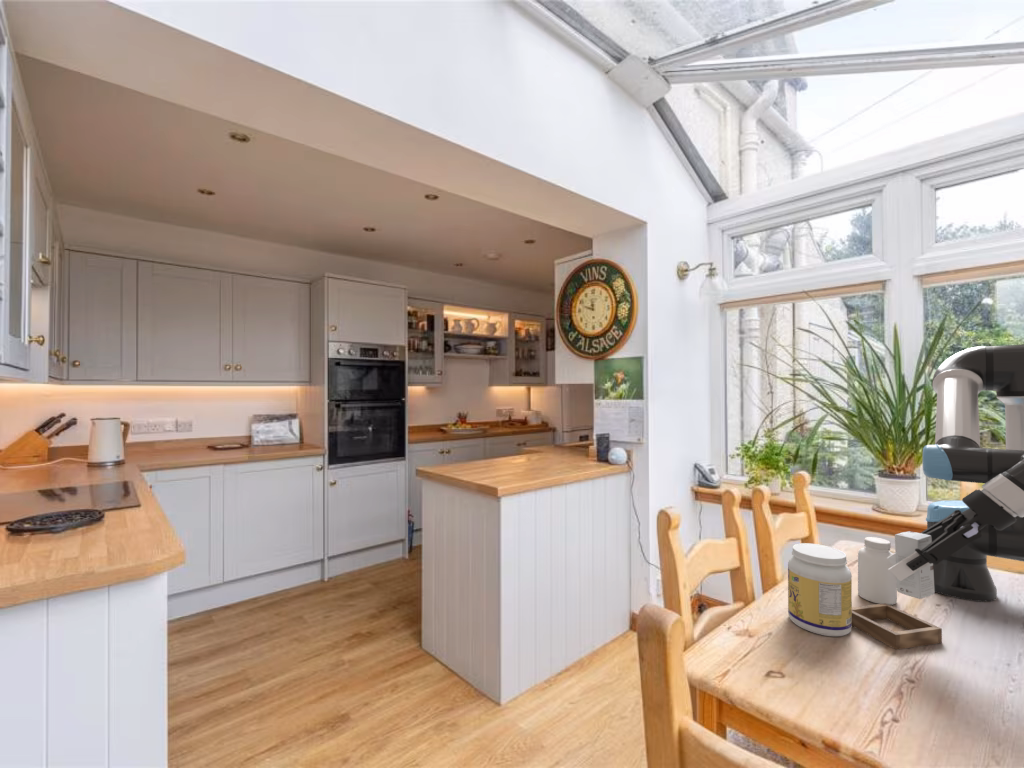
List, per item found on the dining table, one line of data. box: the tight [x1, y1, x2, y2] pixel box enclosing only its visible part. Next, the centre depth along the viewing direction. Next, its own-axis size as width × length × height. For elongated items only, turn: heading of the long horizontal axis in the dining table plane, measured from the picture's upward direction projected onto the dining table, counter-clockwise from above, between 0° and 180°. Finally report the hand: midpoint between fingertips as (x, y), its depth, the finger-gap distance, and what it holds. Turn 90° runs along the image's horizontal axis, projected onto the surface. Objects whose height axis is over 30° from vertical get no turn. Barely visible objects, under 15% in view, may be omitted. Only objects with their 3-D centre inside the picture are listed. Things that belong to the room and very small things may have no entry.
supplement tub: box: [787, 542, 853, 637], centre depth 108 cm, size 12×12×17 cm
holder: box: [852, 603, 943, 651], centre depth 104 cm, size 12×12×3 cm
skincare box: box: [894, 530, 935, 600], centre depth 99 cm, size 6×4×12 cm
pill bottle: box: [857, 536, 898, 606], centre depth 121 cm, size 8×8×15 cm
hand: (893, 568), depth 101 cm, fingers closed on skincare box, 7 cm apart
